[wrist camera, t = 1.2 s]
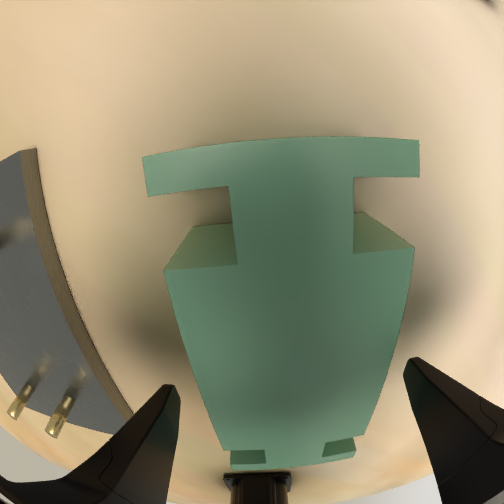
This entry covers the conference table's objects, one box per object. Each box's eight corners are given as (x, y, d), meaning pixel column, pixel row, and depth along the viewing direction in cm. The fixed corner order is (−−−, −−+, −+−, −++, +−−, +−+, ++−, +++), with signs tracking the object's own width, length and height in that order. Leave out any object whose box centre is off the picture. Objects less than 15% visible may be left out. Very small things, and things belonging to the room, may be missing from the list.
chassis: (143, 427, 17) (128, 476, 12) (30, 398, 17) (11, 429, 13) (36, 148, 9) (-37, 162, 5) (-57, 204, 10) (-95, 223, 5)
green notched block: (340, 408, 15) (353, 456, 12) (235, 419, 16) (232, 470, 12) (363, 139, 9) (418, 140, 6) (181, 151, 10) (142, 157, 6)
